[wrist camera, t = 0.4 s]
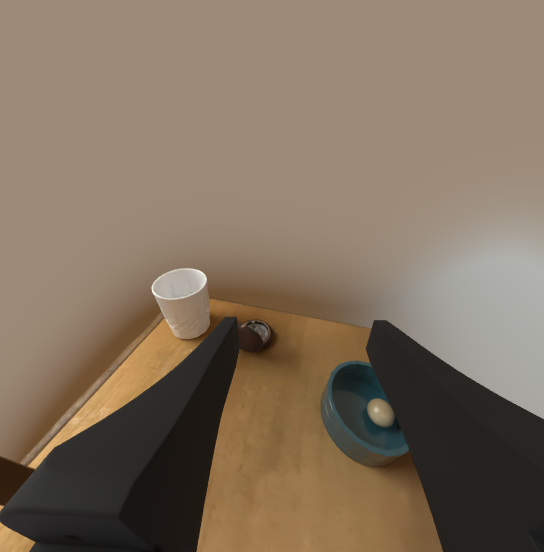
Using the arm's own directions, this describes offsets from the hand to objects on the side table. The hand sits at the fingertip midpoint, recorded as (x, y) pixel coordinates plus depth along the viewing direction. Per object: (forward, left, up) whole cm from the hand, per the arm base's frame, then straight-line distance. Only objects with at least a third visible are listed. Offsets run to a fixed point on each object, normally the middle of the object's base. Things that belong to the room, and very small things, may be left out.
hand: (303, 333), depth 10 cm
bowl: (+6, -10, -21) cm, 24 cm away
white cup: (+14, +19, -21) cm, 31 cm away
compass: (+14, +8, -21) cm, 26 cm away
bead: (+6, -12, -20) cm, 24 cm away
